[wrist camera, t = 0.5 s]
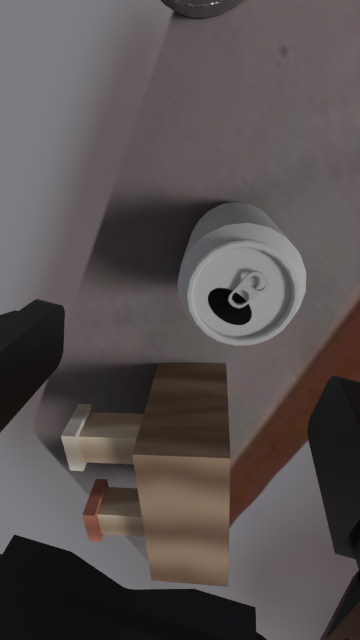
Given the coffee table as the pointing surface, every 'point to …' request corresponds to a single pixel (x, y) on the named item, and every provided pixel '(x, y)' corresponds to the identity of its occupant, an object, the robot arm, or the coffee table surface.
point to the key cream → (100, 437)
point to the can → (240, 276)
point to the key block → (185, 474)
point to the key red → (112, 512)
